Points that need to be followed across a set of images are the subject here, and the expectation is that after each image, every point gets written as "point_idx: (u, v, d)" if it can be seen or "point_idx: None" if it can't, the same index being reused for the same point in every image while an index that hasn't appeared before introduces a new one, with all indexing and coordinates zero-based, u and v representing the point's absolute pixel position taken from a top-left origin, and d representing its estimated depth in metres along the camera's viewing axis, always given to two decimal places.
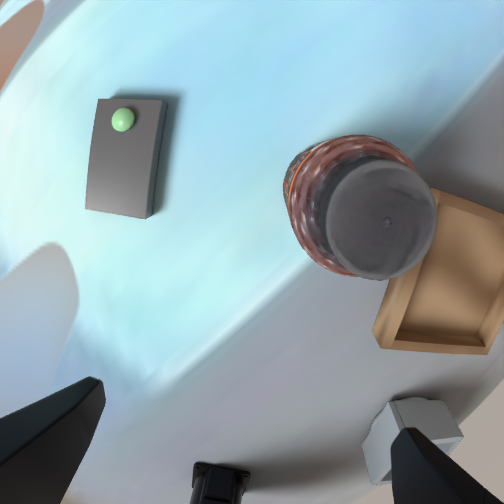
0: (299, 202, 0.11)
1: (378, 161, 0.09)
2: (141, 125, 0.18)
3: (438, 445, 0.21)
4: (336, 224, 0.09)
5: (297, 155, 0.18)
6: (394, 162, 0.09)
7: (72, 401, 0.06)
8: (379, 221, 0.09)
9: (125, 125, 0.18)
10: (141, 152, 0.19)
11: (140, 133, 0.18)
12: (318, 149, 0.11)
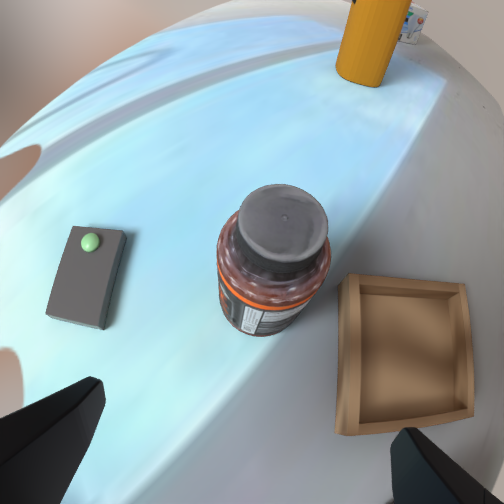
0: (223, 242, 0.15)
1: (270, 185, 0.14)
2: (104, 248, 0.23)
3: None
4: (245, 221, 0.13)
5: None
6: (281, 184, 0.14)
7: (72, 401, 0.06)
8: (278, 217, 0.13)
9: (91, 246, 0.22)
10: (101, 269, 0.22)
11: (102, 255, 0.23)
12: (235, 213, 0.17)
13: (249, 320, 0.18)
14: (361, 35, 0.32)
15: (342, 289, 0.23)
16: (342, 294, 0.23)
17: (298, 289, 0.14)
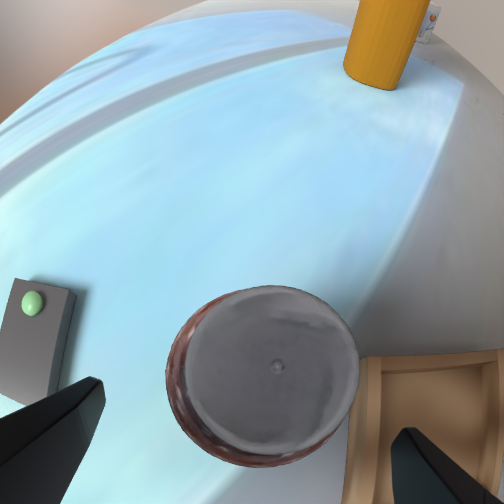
0: (172, 374, 0.08)
1: (251, 289, 0.07)
2: (47, 313, 0.16)
3: None
4: (198, 377, 0.06)
5: None
6: (274, 286, 0.07)
7: (72, 401, 0.06)
8: (264, 367, 0.06)
9: (32, 309, 0.15)
10: (45, 341, 0.15)
11: (46, 321, 0.16)
12: (196, 311, 0.10)
13: None
14: (375, 27, 0.25)
15: None
16: None
17: (297, 453, 0.07)
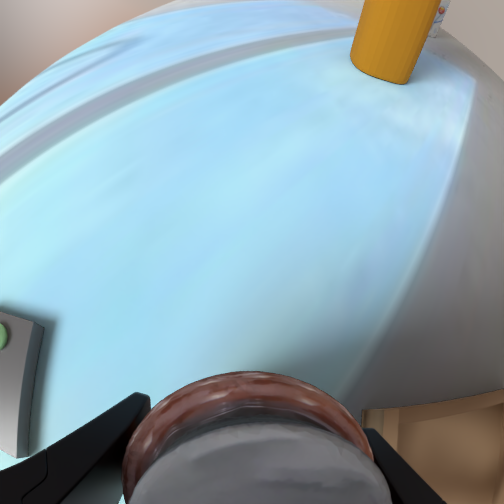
0: (127, 489, 0.05)
1: (224, 431, 0.04)
2: (12, 348, 0.12)
3: None
4: None
5: None
6: (265, 426, 0.04)
7: (123, 421, 0.06)
8: None
9: None
10: (11, 380, 0.12)
11: (11, 357, 0.12)
12: (157, 404, 0.06)
13: None
14: (387, 14, 0.21)
15: (369, 423, 0.12)
16: None
17: None
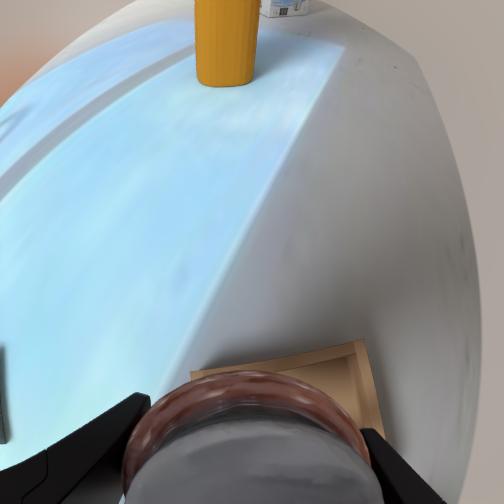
0: (127, 486, 0.05)
1: (217, 427, 0.04)
2: None
3: None
4: None
5: None
6: (256, 423, 0.04)
7: (123, 421, 0.06)
8: None
9: None
10: None
11: None
12: (156, 402, 0.06)
13: None
14: (209, 31, 0.27)
15: None
16: None
17: None
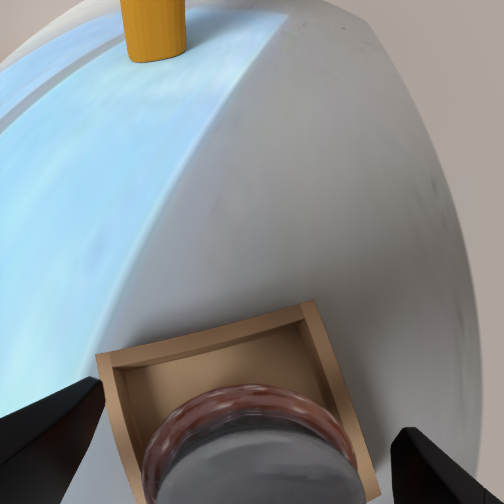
0: (148, 485, 0.06)
1: (232, 436, 0.05)
2: None
3: None
4: None
5: None
6: (263, 432, 0.05)
7: (72, 402, 0.06)
8: None
9: None
10: None
11: None
12: (172, 412, 0.07)
13: None
14: (132, 4, 0.23)
15: None
16: None
17: None
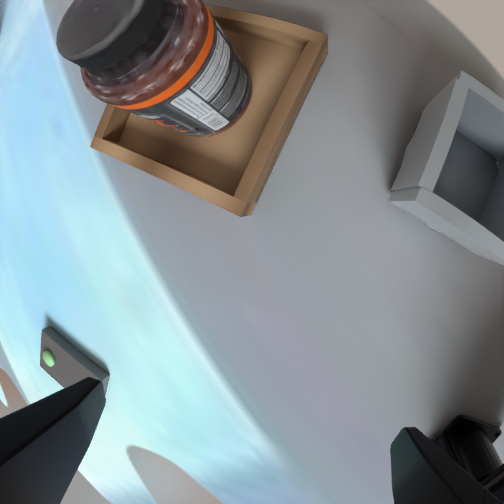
0: (90, 86, 0.10)
1: (66, 11, 0.07)
2: (52, 349, 0.24)
3: (490, 120, 0.11)
4: (68, 49, 0.07)
5: None
6: None
7: (72, 401, 0.06)
8: (90, 14, 0.07)
9: (50, 359, 0.23)
10: (65, 358, 0.23)
11: (56, 352, 0.24)
12: None
13: (200, 112, 0.13)
14: None
15: None
16: None
17: (183, 35, 0.09)
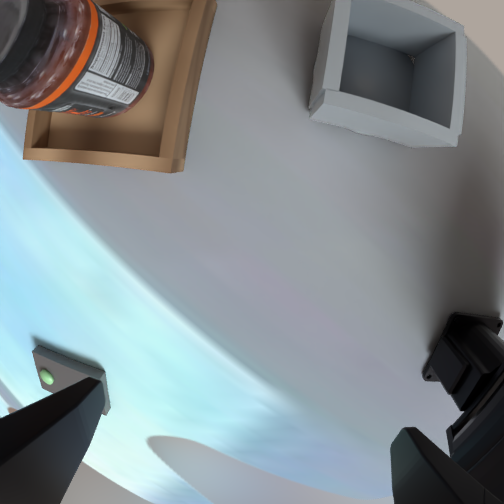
0: (3, 99, 0.08)
1: None
2: (47, 366, 0.23)
3: (386, 17, 0.11)
4: None
5: None
6: None
7: (72, 401, 0.06)
8: None
9: (48, 377, 0.23)
10: (61, 370, 0.23)
11: (51, 368, 0.23)
12: None
13: (106, 90, 0.12)
14: None
15: None
16: None
17: (69, 27, 0.08)
